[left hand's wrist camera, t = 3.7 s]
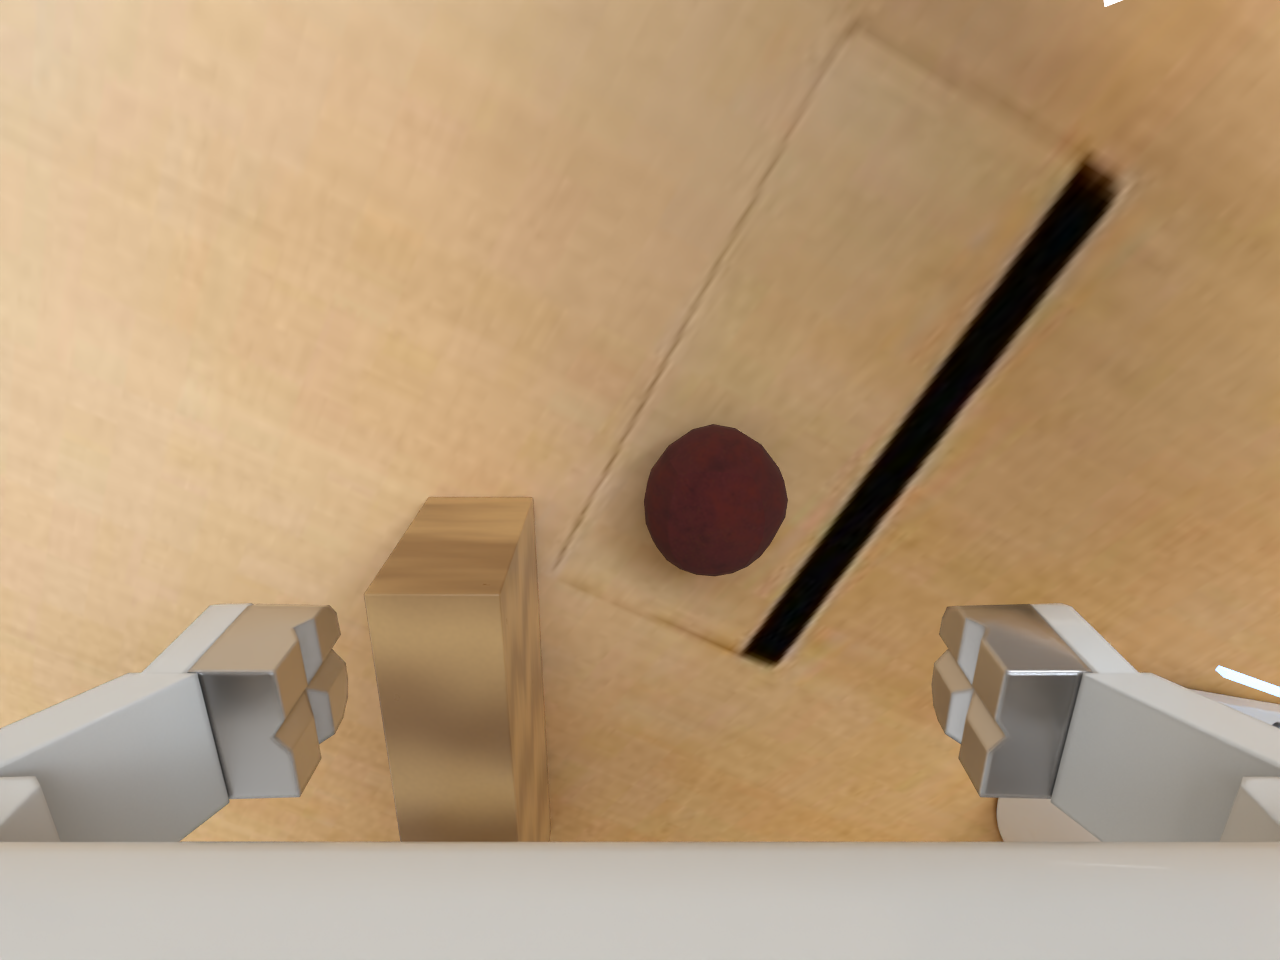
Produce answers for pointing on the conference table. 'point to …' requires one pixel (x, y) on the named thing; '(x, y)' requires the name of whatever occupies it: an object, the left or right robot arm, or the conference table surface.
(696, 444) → the dark red ball
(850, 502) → the conference table surface
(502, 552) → the box
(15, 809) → the left robot arm
